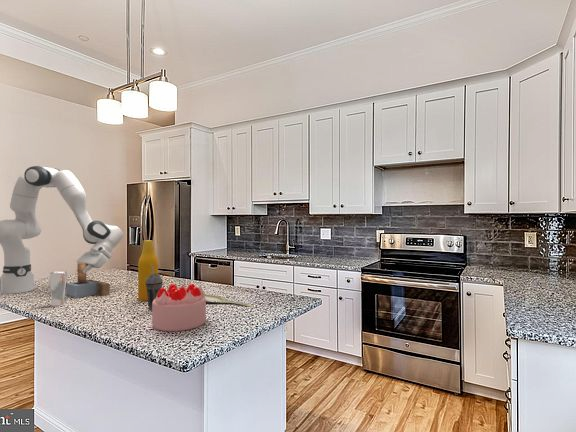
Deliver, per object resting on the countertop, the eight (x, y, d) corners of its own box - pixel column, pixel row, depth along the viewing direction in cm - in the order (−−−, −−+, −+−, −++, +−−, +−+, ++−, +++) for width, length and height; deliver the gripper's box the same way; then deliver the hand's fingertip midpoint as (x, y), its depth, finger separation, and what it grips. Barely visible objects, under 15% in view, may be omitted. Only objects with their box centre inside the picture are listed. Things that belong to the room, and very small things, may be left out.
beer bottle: (158, 300, 168) (158, 240, 168) (137, 302, 165) (137, 241, 164) (158, 296, 176) (158, 239, 176) (138, 297, 173) (138, 240, 173)
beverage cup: (166, 307, 155) (166, 263, 155) (155, 311, 148) (155, 265, 148) (153, 305, 158) (153, 262, 157) (141, 310, 151) (141, 264, 151)
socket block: (66, 295, 177) (66, 283, 177) (87, 291, 186) (87, 280, 186) (76, 297, 172) (76, 285, 172) (96, 294, 180) (96, 282, 180)
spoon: (263, 308, 161) (263, 303, 161) (251, 314, 151) (251, 309, 151) (202, 296, 175) (202, 292, 175) (188, 301, 165) (188, 296, 165)
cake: (216, 320, 136) (216, 284, 136) (177, 336, 119) (177, 294, 119) (180, 313, 146) (180, 280, 146) (139, 326, 129) (139, 288, 129)
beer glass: (58, 307, 155) (58, 273, 155) (45, 306, 157) (45, 273, 157) (71, 303, 162) (71, 271, 162) (58, 302, 164) (58, 270, 164)
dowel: (76, 282, 178) (75, 263, 178) (84, 281, 182) (84, 262, 181) (79, 283, 176) (79, 263, 176) (88, 282, 179) (87, 263, 179)
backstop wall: (84, 291, 187) (84, 280, 187) (90, 290, 190) (90, 279, 190) (103, 296, 176) (103, 284, 176) (109, 295, 179) (109, 283, 179)
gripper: (85, 246, 190) (66, 266, 182) (105, 248, 179) (85, 270, 171) (94, 254, 194) (75, 274, 186) (113, 256, 182) (95, 277, 174)
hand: (80, 272), depth 178 cm, fingers closed on dowel, 4 cm apart
